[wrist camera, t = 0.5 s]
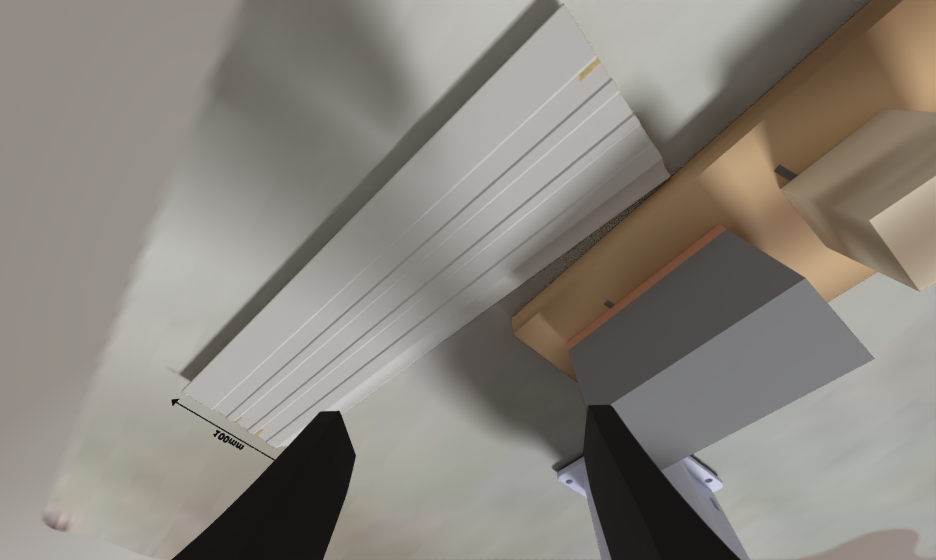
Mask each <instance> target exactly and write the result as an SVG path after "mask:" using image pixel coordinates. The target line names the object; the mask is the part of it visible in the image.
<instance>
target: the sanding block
mask: <svg viewBox="0 0 936 560" xmlns="http://www.w3.org/2000/svg"><path fill="white" fill-rule="evenodd" d="M566 345H567V348H568V351H569V355H570V358H571V361H572V365H573V368H574V371H575V375H576V378H577V381H578V384H579V388H580V391H581V394H582V398H583V401H584V404H585V407H586V411H587V408H588V405H611V406H612V407H614V409H615V410H616V412H617V413H618V415H619V416H620V417H621V419H622V420H623V422H624V423H625V425H626V426H627V427H628V429H629V430H630V431H631V433H632V434H633V436H634V437H635V438H636V440H637V441H638V442H639V444H640V445H641V446H642V448H643V449H644V450H645V451H646V453H647V454H648V455H649V457H650V458H651V459H652V460H653V462H654V463H655V464H656V465H657V467H658V468H659V469H660V470H663V469H665V468H667V467H669V466H671V465H673V464H675V463H677V462H679V461H680V460H682V459H684V458H686V457H688V456H690V455H692V454H694V453H696V452H698V451H700V450H701V449H703V448H705V447H707V446H709V445H711V444H713V443H715V442H717V441H719V440H721V439H722V438H724V437H726V436H728V435H730V434H732V433H734V432H736V431H738V430H740V429H742V428H743V427H745V426H747V425H749V424H751V423H753V422H755V421H757V420H759V419H761V418H763V417H765V416H766V415H768V414H770V413H772V412H774V411H776V410H778V409H780V408H782V407H784V406H786V405H787V404H789V403H791V402H793V401H795V400H797V399H799V398H801V397H803V396H805V395H807V394H808V393H810V392H812V391H814V390H816V389H818V388H820V387H822V386H824V385H826V384H828V383H829V382H831V381H833V380H835V379H837V378H839V377H841V376H843V375H845V374H847V373H849V372H850V371H852V370H854V369H856V368H858V367H860V366H862V365H864V364H866V363H868V362H870V361H872V360H873V359H875V358H874V357H873V356H872V355H871V354H870V353H869V351H868V350H867V349H866V348H865V347H864V346H863V344H862V343H861V342H860V341H859V340H858V339H857V337H856V336H855V335H854V334H853V333H852V331H851V330H850V329H849V328H848V327H847V326H846V324H845V323H844V322H843V321H842V320H841V319H840V317H839V316H838V315H837V314H836V313H835V312H834V310H833V309H832V308H831V307H830V306H829V305H828V303H827V302H826V301H825V300H824V299H823V297H822V296H821V295H820V294H819V293H818V292H817V290H816V289H815V288H814V287H813V286H812V285H811V283H810V282H809V281H808V280H807V279H806V278H805V277H804V276H802V275H800V274H799V273H797V272H795V271H794V270H792V269H791V268H789V267H787V266H786V265H784V264H782V263H781V262H779V261H778V260H776V259H774V258H773V257H771V256H769V255H768V254H766V253H765V252H763V251H761V250H760V249H758V248H757V247H755V246H753V245H752V244H750V243H748V242H747V241H745V240H744V239H742V238H740V237H739V236H737V235H735V234H734V233H732V232H731V231H729V230H727V229H726V228H724V227H722V226H721V225H719V224H718V225H717V226H716V227H714V228H713V229H712V230H711V231H709V232H708V233H707V234H705V235H704V236H703V237H702V238H700V239H699V240H698V241H696V242H695V243H694V244H693V245H691V246H690V247H689V248H687V249H686V250H685V251H684V252H682V253H681V254H680V255H679V256H677V257H676V258H675V259H673V260H672V261H671V262H670V263H668V264H667V265H666V266H664V267H663V268H662V269H661V270H659V271H658V272H657V273H655V274H654V275H653V276H652V277H650V278H649V279H648V280H646V281H645V282H644V283H643V284H641V285H640V286H639V287H637V288H636V289H635V290H634V291H632V292H631V293H630V294H628V295H627V296H626V297H625V298H623V299H622V300H621V301H619V302H618V303H617V304H616V305H614V306H613V307H612V308H610V309H609V310H608V311H607V312H605V313H604V314H603V315H601V316H600V317H599V318H598V319H596V320H595V321H594V322H592V323H591V324H590V325H589V326H587V327H586V328H585V329H583V330H582V331H581V332H580V333H578V334H577V335H576V336H574V337H573V338H572V339H571V340H569V341H568V342H567V343H566Z"/></svg>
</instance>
